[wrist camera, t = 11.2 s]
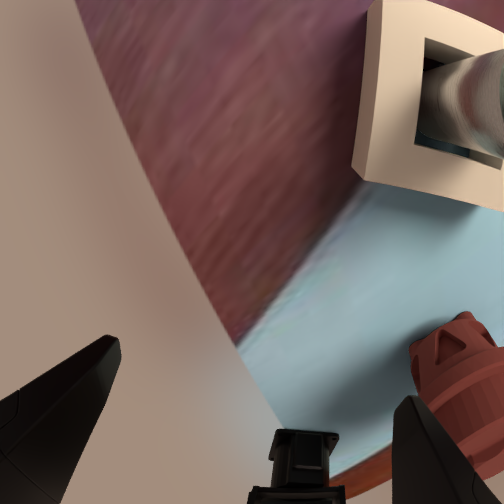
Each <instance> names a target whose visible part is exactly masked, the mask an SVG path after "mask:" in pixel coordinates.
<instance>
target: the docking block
mask: <svg viewBox="0 0 504 504" xmlns="http://www.w3.org/2000/svg"><path fill="white" fill-rule="evenodd" d="M501 49H504V33H502V32H500V31H498V30H496V29H494V28H492V27H490V26H488V25H486V24H483V23H481V22H479V21H477V20H475V19H473V18H470V17H468V16H466V15H463V14H461V13H458V12H456V11H453V10H451V9H448V8H446V7H443V6H440V5H438V4H435V3H432V2H429V1H426V0H374V1H373V3H372V4H371V6H370V7H369V9H368V10H367V28H366V43H365V56H364V67H363V78H362V88H361V97H360V106H359V114H358V122H357V129H356V137H355V144H354V151H353V158H352V164H351V167H352V168H353V169H354V170H355V171H356V172H357V173H358V174H359V175H360V177H361V178H362V179H363V180H366V181H371V182H376V183H382V184H387V185H392V186H397V187H402V188H407V189H412V190H416V191H421V192H426V193H430V194H434V195H439V196H443V197H447V198H451V199H456V200H460V201H464V202H468V203H471V204H475V205H479V206H483V207H487V208H490V209H494V210H497V211H501V212H504V159H501V158H498V157H495V156H492V155H488V154H485V153H482V152H479V151H475V150H472V149H470V153H469V158H466V157H463V156H460V155H457V154H453V153H450V152H446V151H443V150H439V149H435V148H432V147H428V146H424V145H420V144H416V143H414V140H415V134H416V127H417V119H418V112H419V103H420V94H421V84H422V73H423V59H424V57H426V58H430V59H433V60H436V61H439V62H442V63H444V64H450V63H453V62H457V61H460V60H464V59H467V58H471V57H474V56H478V55H482V54H485V53H489V52H493V51H497V50H501Z"/></svg>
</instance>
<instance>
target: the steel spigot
mask: <svg viewBox="0 0 504 504" xmlns="http://www.w3.org/2000/svg"><path fill="white" fill-rule="evenodd" d="M416 128H417V129H418V130H419V131H420V132H421V133H422V134H424V135H425V136H427V137H429V138H432V139H435V140H439V141H443V142H447V143H451V144H454V145H458V146H462V147H465V148H469V149H472V150H475V151H479V152H482V153H485V154H488V155H492V156H495V157H498V158H501V159H504V49H501V50H497V51H493V52H489V53H485V54H482V55H478V56H474V57H471V58H467V59H464V60H460V61H457V62H453V63H450V64H447V65H444V66H440V67H437V68H434V69H431V70H428V71H425V72H423V73H422V84H421V94H420V103H419V112H418V119H417V127H416Z"/></svg>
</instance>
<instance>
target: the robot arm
mask: <svg viewBox="0 0 504 504" xmlns="http://www.w3.org/2000/svg"><path fill="white" fill-rule="evenodd" d="M120 362H121V350H120V342H119V339H118V338H117V337H113V336H111V335H104V336H102V337H101V338H99V339H97V340H96V341H94V342H93V343H91V344H90V345H88V346H86V347H85V348H83V349H82V350H80V351H78V352H77V353H75V354H74V355H72V356H70V357H69V358H67V359H66V360H64V361H62V362H61V363H59V364H58V365H56V366H55V367H53V368H51V369H50V370H49V371H47V372H45V373H44V374H42V375H40V376H39V377H37V378H36V379H34V380H33V381H31V382H30V383H28V384H26V385H25V386H23V387H22V388H20V390H17V391H15V392H14V393H12V394H10V395H9V396H7V397H5V398H4V399H2V400H1V401H0V504H60V503H61V500H62V498H63V495H64V493H65V491H66V488H67V486H68V484H69V482H70V479H71V477H72V475H73V472H74V470H75V468H76V466H77V463H78V461H79V459H80V457H81V455H82V452H83V450H84V448H85V446H86V444H87V442H88V439H89V437H90V435H91V433H92V431H93V429H94V427H95V425H96V423H97V420H98V418H99V416H100V414H101V412H102V410H103V408H104V406H105V404H106V401H107V398H108V396H109V393H110V390H111V387H112V384H113V382H114V379H115V376H116V373H117V370H118V368H119V365H120ZM338 440H339V434H336V433H320V432H308V431H297V430H287V429H277V430H276V432H275V435H274V440H273V443H272V446H271V450H270V454H269V460H270V461H274V464H273V473H272V480H271V487H259V486H253V489H252V491H251V492H249V495H248V501H247V504H346V499H345V485H339V486H334V487H329V456H330V455H331V453H332V451H333V449H334V448H335V446H336V444H337V442H338ZM392 504H502V503H501V502H500V501H499V500H498V499H497V498H496V496H495V495H494V494H493V493H492V492H491V490H490V489H489V488H488V487H487V485H486V484H485V483H484V481H483V480H482V479H481V477H480V476H479V475H478V473H477V472H476V471H475V469H474V468H473V466H472V465H471V464H470V462H469V461H468V460H467V458H466V457H465V455H464V454H463V453H462V451H461V450H460V449H459V447H458V446H457V445H456V443H455V442H454V441H453V439H452V438H451V437H450V435H449V434H448V433H447V431H446V430H445V429H444V427H443V426H442V425H441V423H440V422H439V421H438V420H437V418H436V417H435V416H434V414H433V413H432V412H431V410H430V409H429V408H428V406H427V405H426V404H425V403H424V401H423V400H422V399H421V398H420V397H419V396H416V395H408V396H406V397H405V398H404V400H403V401H402V402H401V403H400V404H399V406H398V407H397V408H396V410H395V412H394V419H393V440H392Z"/></svg>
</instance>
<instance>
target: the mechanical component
mask: <svg viewBox="0 0 504 504" xmlns="http://www.w3.org/2000/svg"><path fill="white" fill-rule="evenodd" d="M409 354H410V357H411V360H412V361H411V373H412V376H413V379H414V383H415V386H416V389H417V393H418V396H419V397H420V398H421V399H422V400H423V401H424V403H425V404H426V405H427V406H428V408H429V409H430V410H431V412H432V413H433V414H434V416H435V417H436V418H437V420H438V421H439V422H440V423H441V425H442V426H443V427H444V429H445V430H446V431H447V433H448V434H449V435H450V437H451V438H452V439H453V441H454V442H455V443H456V445H457V446H458V447H459V449H460V450H461V451H462V453H463V454H464V455H465V457H466V458H467V460H468V461H469V462H470V464H471V465H472V466H473V468H474V469H475V471H476V472H477V473H478V475H479V476H480V477H481V479H482V480H485V479H488V478H490V477H492V476H494V475H496V474H498V473H500V472H501V471H503V470H504V347H497V345H496V343H495V342H494V340H493V339H492V337H491V336H490V334H489V332H488V331H487V329H486V328H485V327H484V325H483V324H482V323H480V322H479V321H476V319H475V318H474V316H473V315H472V313H471V312H468V311H466V312H463V313H461V314H460V315H459V316H458V317H457V318H456V319H455V320H454V321H452V322H449V323H447V324H444V325H443V326H441V327H439V328H437V329H436V330H435V331H433V332H432V333H431V334H429V335H428V336H427V337H426V338H425V339H422V340H418V341H416V342H414V343H413V344H411V346H410V347H409Z"/></svg>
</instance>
